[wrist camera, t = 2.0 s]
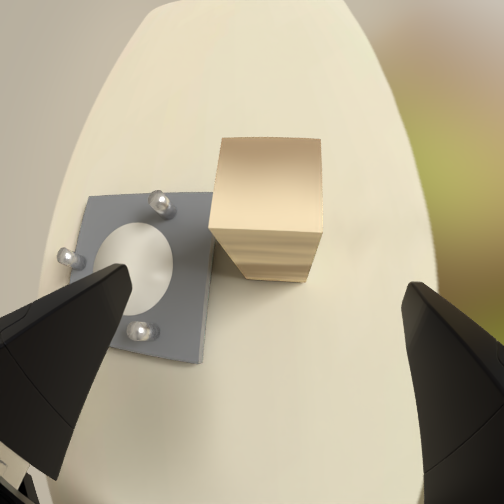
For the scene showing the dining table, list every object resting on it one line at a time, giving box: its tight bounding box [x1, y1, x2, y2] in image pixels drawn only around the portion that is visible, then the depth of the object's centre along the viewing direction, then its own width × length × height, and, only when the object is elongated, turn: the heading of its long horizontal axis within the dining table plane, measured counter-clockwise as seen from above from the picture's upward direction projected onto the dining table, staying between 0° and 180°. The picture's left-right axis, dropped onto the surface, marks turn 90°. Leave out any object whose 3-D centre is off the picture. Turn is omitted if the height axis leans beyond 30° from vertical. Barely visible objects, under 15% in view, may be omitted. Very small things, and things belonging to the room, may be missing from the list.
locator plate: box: [57, 190, 215, 364], centre depth 19 cm, size 12×12×4 cm
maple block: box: [208, 137, 323, 282], centre depth 15 cm, size 4×4×10 cm
